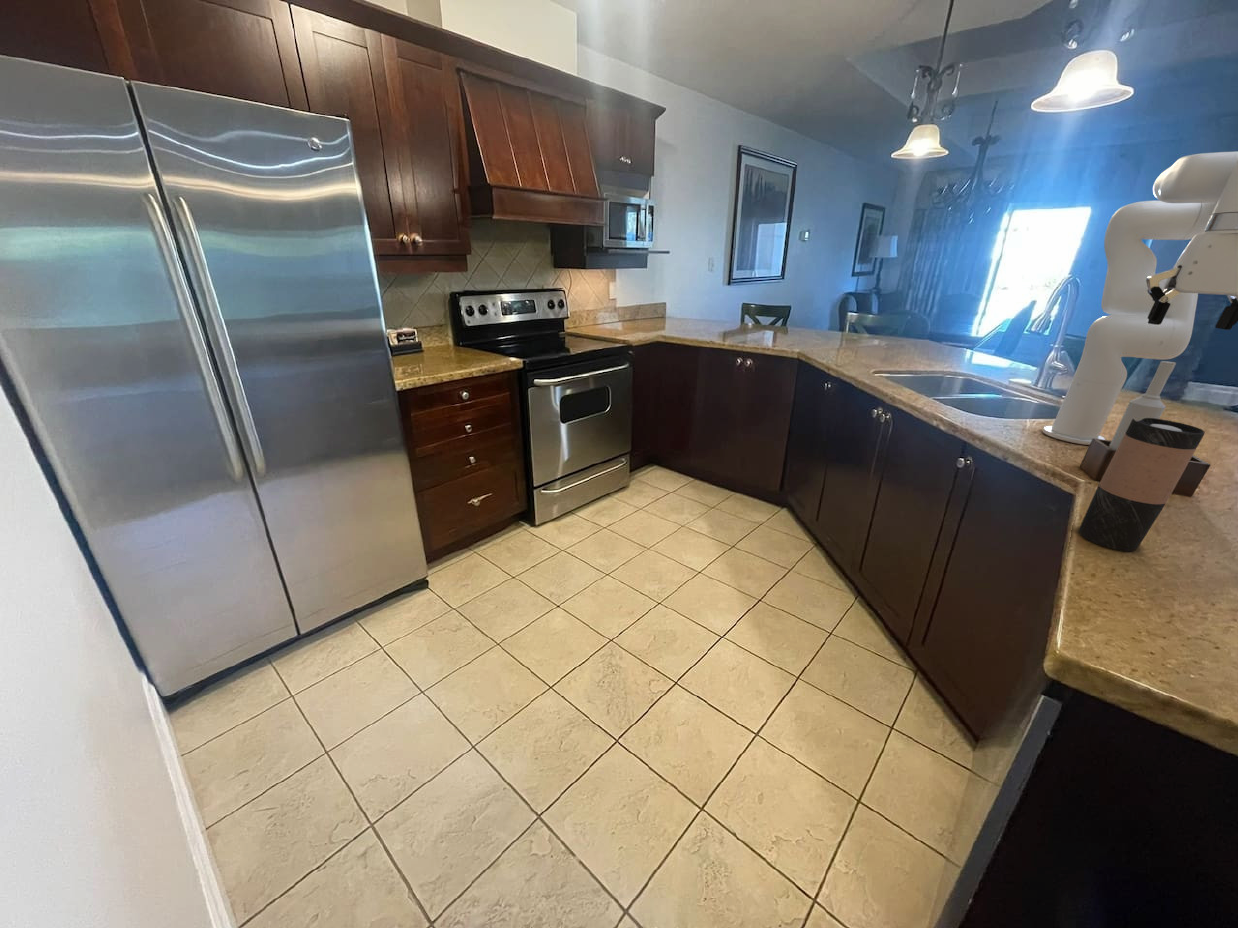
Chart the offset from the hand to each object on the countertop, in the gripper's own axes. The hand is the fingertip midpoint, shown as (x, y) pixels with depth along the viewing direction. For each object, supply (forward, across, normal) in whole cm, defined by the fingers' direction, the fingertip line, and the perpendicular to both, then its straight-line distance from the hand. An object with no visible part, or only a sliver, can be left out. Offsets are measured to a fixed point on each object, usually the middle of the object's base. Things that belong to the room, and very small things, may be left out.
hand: (1187, 326), depth 90 cm
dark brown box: (+32, -4, 0) cm, 32 cm away
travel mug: (+32, +13, +34) cm, 49 cm away
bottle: (+32, 0, 0) cm, 32 cm away
